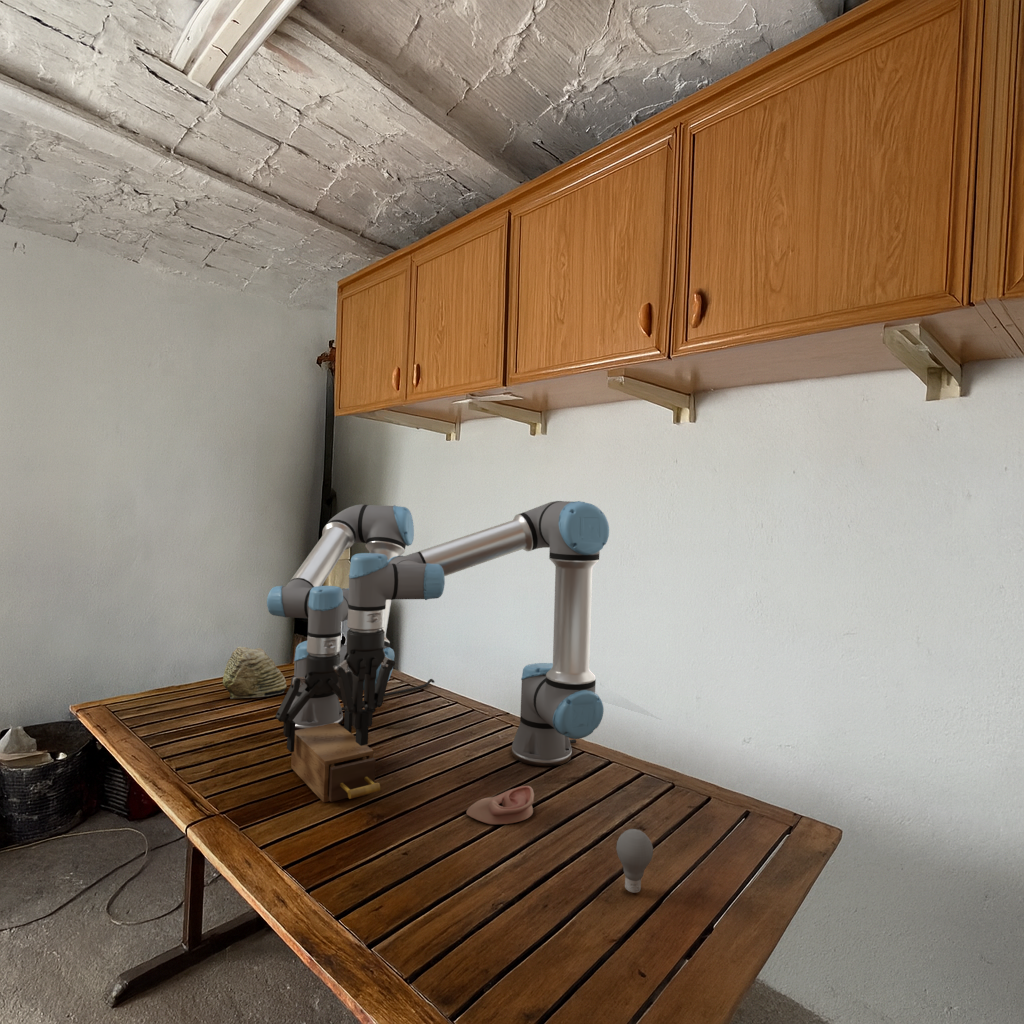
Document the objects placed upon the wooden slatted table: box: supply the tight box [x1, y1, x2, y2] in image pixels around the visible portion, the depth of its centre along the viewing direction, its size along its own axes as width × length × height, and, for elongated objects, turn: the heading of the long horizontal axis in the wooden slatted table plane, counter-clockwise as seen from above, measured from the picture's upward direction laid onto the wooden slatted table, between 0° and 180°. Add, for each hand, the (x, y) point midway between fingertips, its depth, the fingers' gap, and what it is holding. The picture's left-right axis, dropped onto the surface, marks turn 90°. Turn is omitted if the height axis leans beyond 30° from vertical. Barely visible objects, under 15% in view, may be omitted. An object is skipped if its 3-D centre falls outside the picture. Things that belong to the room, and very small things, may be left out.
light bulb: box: [615, 828, 654, 894], centre depth 106 cm, size 6×6×10 cm
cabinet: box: [290, 723, 374, 803], centre depth 142 cm, size 20×11×9 cm, turn 38°
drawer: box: [328, 756, 381, 803], centre depth 138 cm, size 25×10×7 cm, turn 38°
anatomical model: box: [465, 785, 535, 825], centre depth 130 cm, size 13×4×12 cm
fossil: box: [222, 646, 288, 699], centre depth 198 cm, size 9×18×15 cm, turn 132°
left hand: (319, 744), depth 147 cm, fingers open, 13 cm apart
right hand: (361, 742), depth 130 cm, fingers closed
